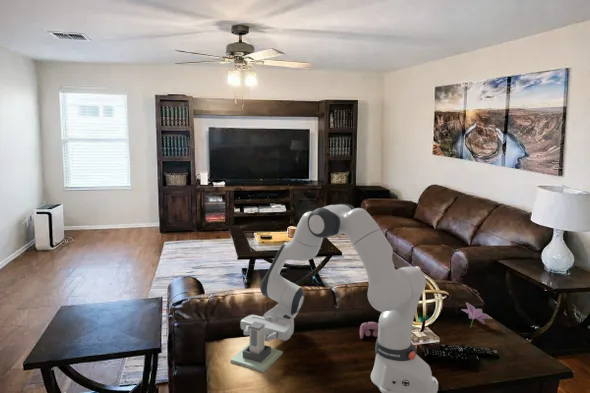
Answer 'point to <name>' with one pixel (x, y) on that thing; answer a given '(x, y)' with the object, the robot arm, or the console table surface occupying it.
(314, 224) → the robot arm
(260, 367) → the board
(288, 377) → the console table surface
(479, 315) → the lily
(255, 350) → the plug
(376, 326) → the video game controller
